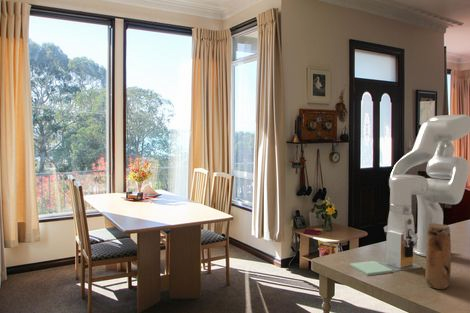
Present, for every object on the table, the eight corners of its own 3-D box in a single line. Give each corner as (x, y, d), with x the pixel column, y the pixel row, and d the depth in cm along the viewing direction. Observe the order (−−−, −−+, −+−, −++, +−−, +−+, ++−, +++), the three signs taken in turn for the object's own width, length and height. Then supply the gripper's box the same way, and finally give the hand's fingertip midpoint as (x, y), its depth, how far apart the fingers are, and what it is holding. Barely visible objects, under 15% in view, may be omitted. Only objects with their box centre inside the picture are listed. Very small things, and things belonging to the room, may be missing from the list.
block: (425, 277, 137) (427, 221, 136) (450, 281, 133) (451, 223, 132) (424, 288, 127) (425, 227, 126) (450, 292, 124) (451, 230, 123)
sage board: (373, 262, 153) (373, 260, 153) (393, 272, 142) (393, 269, 142) (349, 265, 150) (349, 263, 149) (367, 275, 139) (367, 273, 139)
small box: (400, 268, 145) (401, 234, 144) (385, 264, 150) (386, 230, 150) (413, 264, 149) (414, 231, 149) (398, 260, 155) (399, 228, 154)
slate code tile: (403, 259, 156) (403, 259, 156) (422, 267, 147) (422, 267, 147) (377, 262, 153) (377, 262, 153) (395, 271, 143) (395, 270, 143)
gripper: (425, 212, 142) (424, 259, 142) (393, 204, 158) (392, 246, 159) (408, 213, 139) (407, 261, 140) (377, 205, 156) (376, 248, 157)
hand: (399, 253), depth 150 cm, fingers open, 9 cm apart
